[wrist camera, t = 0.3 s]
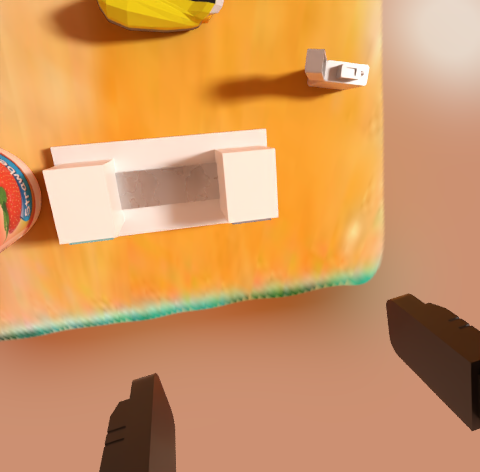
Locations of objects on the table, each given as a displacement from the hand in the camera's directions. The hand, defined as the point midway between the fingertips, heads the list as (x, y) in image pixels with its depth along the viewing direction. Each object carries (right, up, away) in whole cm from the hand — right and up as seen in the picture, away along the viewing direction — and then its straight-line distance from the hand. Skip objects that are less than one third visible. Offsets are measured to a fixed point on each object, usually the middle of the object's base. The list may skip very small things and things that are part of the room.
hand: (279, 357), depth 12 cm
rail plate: (-8, +9, +25) cm, 28 cm away
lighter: (+6, +20, +25) cm, 32 cm away
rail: (-8, +9, +23) cm, 26 cm away
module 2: (-1, +10, +25) cm, 27 cm away
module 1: (-15, +8, +22) cm, 28 cm away
